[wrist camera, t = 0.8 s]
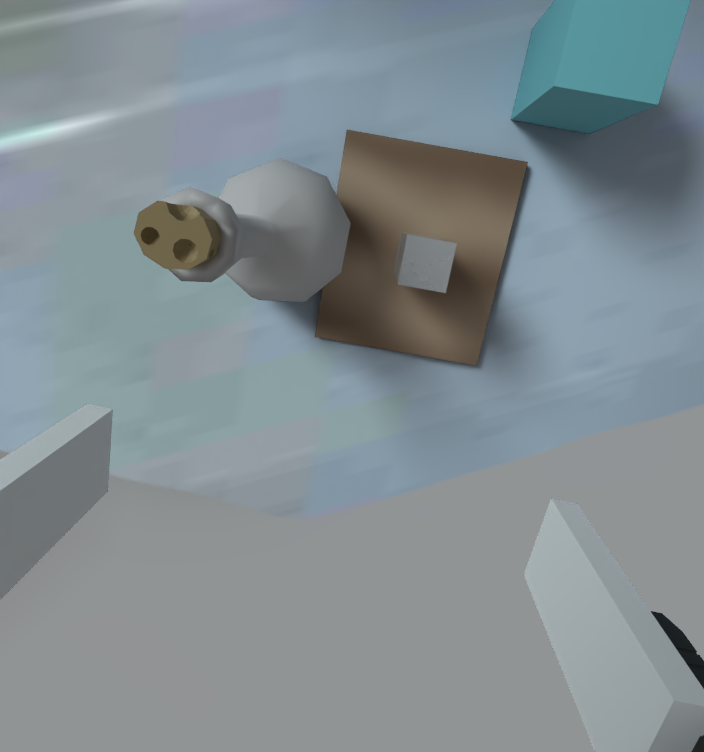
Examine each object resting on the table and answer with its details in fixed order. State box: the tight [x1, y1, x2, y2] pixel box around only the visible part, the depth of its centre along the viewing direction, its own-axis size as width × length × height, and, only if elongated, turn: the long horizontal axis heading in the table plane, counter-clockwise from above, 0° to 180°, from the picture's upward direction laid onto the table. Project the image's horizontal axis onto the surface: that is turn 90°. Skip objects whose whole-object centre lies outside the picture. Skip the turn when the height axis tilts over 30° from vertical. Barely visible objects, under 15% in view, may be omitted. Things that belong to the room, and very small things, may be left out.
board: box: [315, 130, 528, 366], centre depth 36 cm, size 14×12×1 cm
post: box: [393, 232, 457, 293], centre depth 31 cm, size 3×3×9 cm
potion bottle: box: [134, 158, 351, 302], centre depth 27 cm, size 9×9×18 cm
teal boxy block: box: [511, 0, 690, 134], centre depth 29 cm, size 5×5×9 cm
